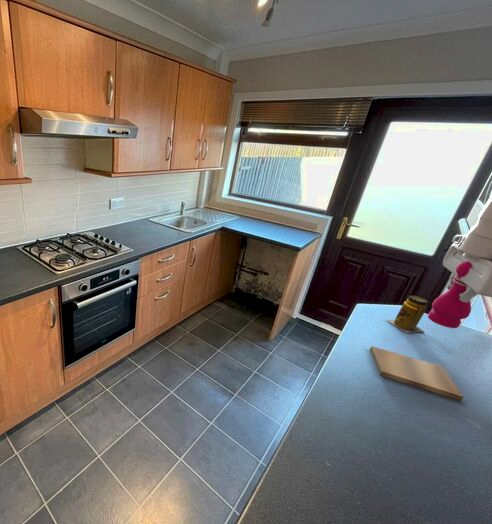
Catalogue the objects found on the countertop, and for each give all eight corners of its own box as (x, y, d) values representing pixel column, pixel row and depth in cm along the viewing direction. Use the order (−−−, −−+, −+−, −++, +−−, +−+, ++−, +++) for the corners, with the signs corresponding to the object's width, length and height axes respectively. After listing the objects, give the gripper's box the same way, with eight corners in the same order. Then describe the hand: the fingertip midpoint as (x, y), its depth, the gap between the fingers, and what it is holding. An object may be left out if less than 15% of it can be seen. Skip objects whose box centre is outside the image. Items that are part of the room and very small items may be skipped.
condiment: (387, 320, 107) (401, 294, 102) (405, 319, 108) (420, 293, 103) (406, 333, 101) (422, 305, 95) (425, 332, 102) (442, 304, 97)
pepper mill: (426, 311, 83) (461, 249, 75) (460, 322, 79) (502, 257, 70) (424, 320, 79) (462, 255, 70) (460, 333, 74) (505, 265, 66)
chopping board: (440, 370, 85) (443, 366, 84) (460, 400, 75) (463, 396, 74) (369, 349, 91) (371, 345, 91) (379, 375, 81) (381, 371, 81)
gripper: (536, 266, 60) (496, 319, 65) (481, 238, 76) (453, 282, 82) (495, 259, 62) (460, 311, 68) (451, 234, 79) (426, 276, 85)
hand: (456, 295), depth 75 cm, fingers closed on pepper mill, 5 cm apart
